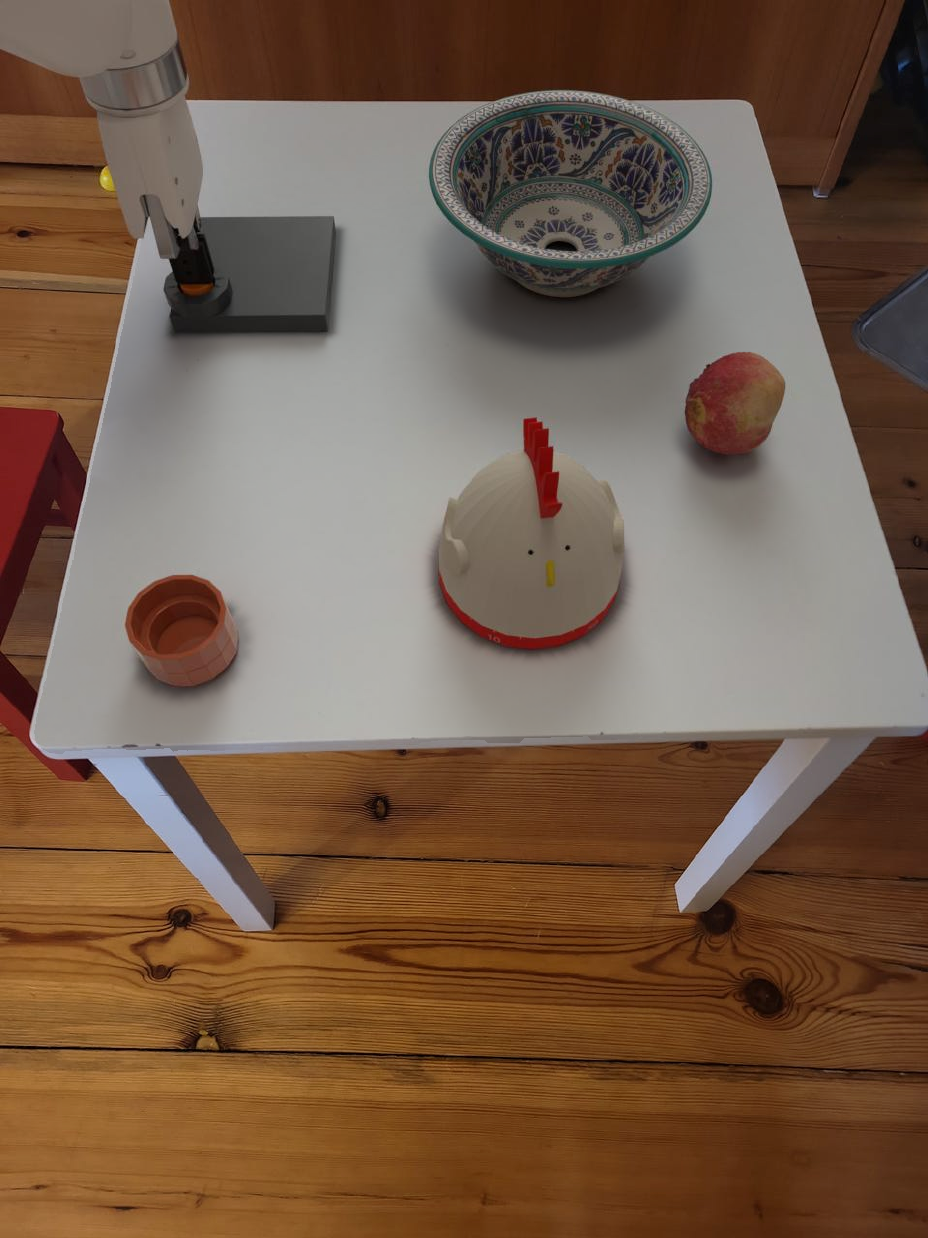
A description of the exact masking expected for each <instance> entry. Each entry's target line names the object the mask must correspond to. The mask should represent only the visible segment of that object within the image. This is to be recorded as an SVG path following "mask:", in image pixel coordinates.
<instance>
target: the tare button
mask: <svg viewBox="0 0 928 1238" xmlns="http://www.w3.org/2000/svg"><path fill="white" fill-rule="evenodd" d="M180 286H181V289H182V292H183V294H186V295H188V296H200V295H202V294H205V293H208V292H209V291H210V290H211V289H212V288H213V287H214V286H213V282H212V283H211V284H181V285H180Z"/></svg>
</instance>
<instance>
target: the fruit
mask: <svg viewBox="0 0 928 1238" xmlns="http://www.w3.org/2000/svg"><path fill="white" fill-rule="evenodd" d="M785 392H786V380H785V378H784V376H783V375H782V374H781V372H780V371H779V370H778V368H776V366H775V365H774V364H772V363H771V362H770V361H769V360H768V359H766V358H765V357H764V356H762V355H761V354H759V353H758V354H757V353H756V352H751V351H738V352H731V353H729V354H726V355H723V356H722V357H720V358H718V359H716V360H715V361H713V362H711V363H708V364H706V365H705V368H704V369H703V370H702V373H701V374H700V375H699V376H698V377H696V378H694V379H693V381H691V383H689V386H688V392H687V394H686V397H685V402H684V403H685V406H684V416H685V423H686V427H687V430H688V431H689V433H690V435H691V436H692V437H693V438H694V440H695V441H696V442H697V443H698V444H699V445H701V446H702V447H703V448H704V449H707V450H709V451H712V452H714V453H717V454H721V455H730V456H731V455H740V454H745V453H749V452H751V451H753V450H756V449H758V448H759V447H761V446H762V444H763V443H764V442H765V441H766V440H767V438H768V437H769V435H770V433H771V432H772V428H773V423H774V422H775V420H776V418H777V416H778V414H779V411H780V409H781V407H782V404H783V401H784V397H785Z"/></svg>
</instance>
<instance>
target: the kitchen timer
mask: <svg viewBox="0 0 928 1238" xmlns="http://www.w3.org/2000/svg"><path fill="white" fill-rule="evenodd" d="M522 423H523V425H522V427H523V428H522V431H523V448H522V449H518V450H515V451H512V452H510V453H507V454H504V455H501V456H499V457H497V458H496V459H494V460H493V461H492V462H490V463H489V464H487V465H486V466H485V467H482V468H481V469H480V470H479V471H478V472H477V473H475V474H474V476H473V477H472V479H471V480H470V481H469V483H468V484H467V485H466V486H465V488H464V489H462V491H461V492H460V494H459V496H458V497H457V498H454V497H452V496H450V497H449V498H448V501H447V506H446V509H445V514H444V518H443V522H442V527H441V534H440V541H439V545H438V582H439V585H440V588H441V591H442V594H443V596H444V599H445V602H446V604H447V605H448V607H449V609H451V611H452V612H453V613H454V614H455V616H456V617H457V619H458V620H459V621H460V622H461V623H462V624H463V625H464V626H466V627H467V628H469V629H470V630H471V631H473V632H474V633H476V634H477V635H478V636H480V637H481V638H484V639H487V640H489V641H491V642H493V643H496V644H499V645H500V646H501V645H502V646H504V647H509V648H517V649H526V650H540V649H546V648H555V647H560V646H563V645H565V644H568V643H570V642H572V641H574V640H577V639H580V638H581V637H584V636H585V635H586V634H588V633H589V632H590V631H591V630H593V628H595V627H596V626H597V625H599V624H600V623H601V622H602V621H603V620H604V618H605V616H606V615H607V613H608V612H609V610H610V609H611V608H612V605H614V603H615V599H616V596H617V593H618V588H619V584H620V581H621V575H622V571H623V564H624V562H623V554H625V521H624V519H623V517H622V515H621V512H620V509H619V506H618V504H617V501H616V498H615V494H614V493H613V490H612V488H611V485H610V484H609V482H608V481H607V479H605V478H603V479H601V480H599V481H597V479H596V478H595V476H593V475H592V473H591V472H590V471H589V470H588V469H587V468H586V467H585V466H584V465H582V464H581V463H579V462H578V461H576V460H575V459H573V458H572V457H570V456H569V455H567V454H564V453H561V452H558V451H555V450H554V445H552V446H551V445H550V446H549V441H550V440H549V439H550V429H549V427H547V428H544V423H543V421H538V417H537V416H536V417H527V418H523V421H522Z"/></svg>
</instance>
